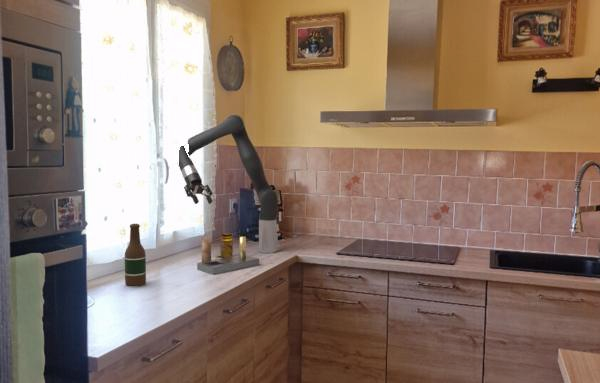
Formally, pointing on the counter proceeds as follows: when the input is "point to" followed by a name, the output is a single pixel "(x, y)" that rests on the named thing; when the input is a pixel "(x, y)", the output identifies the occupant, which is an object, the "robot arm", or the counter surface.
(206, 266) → the bolt plate
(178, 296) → the counter surface
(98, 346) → the counter surface
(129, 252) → the beer bottle
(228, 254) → the condiment
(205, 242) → the walnut peg
